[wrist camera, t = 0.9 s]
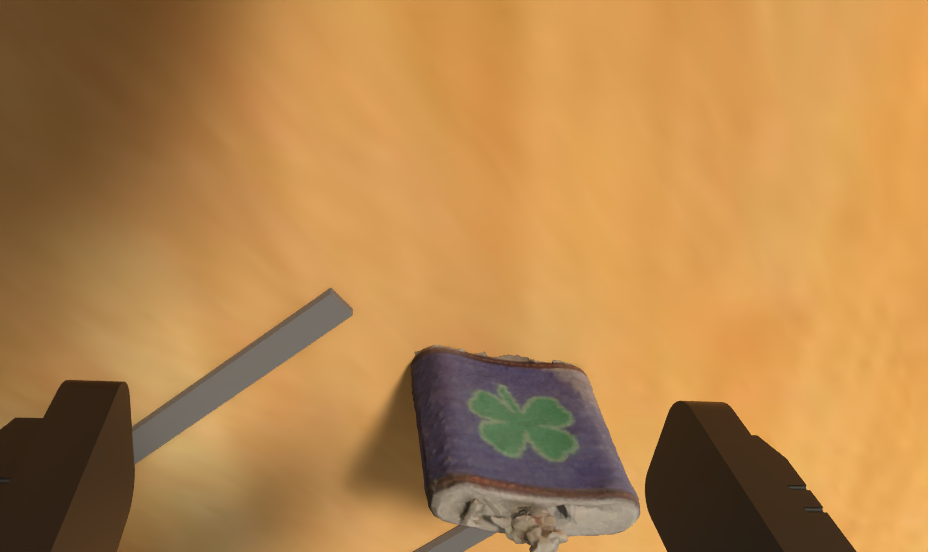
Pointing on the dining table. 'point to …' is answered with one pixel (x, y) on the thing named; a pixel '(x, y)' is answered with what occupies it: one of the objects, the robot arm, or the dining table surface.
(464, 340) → the dining table surface
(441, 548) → the guide strip
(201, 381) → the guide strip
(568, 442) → the flask
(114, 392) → the robot arm
